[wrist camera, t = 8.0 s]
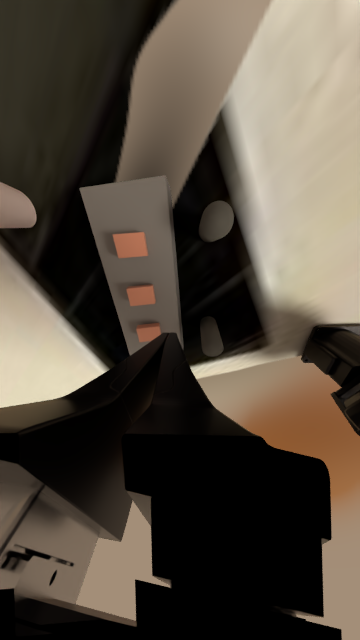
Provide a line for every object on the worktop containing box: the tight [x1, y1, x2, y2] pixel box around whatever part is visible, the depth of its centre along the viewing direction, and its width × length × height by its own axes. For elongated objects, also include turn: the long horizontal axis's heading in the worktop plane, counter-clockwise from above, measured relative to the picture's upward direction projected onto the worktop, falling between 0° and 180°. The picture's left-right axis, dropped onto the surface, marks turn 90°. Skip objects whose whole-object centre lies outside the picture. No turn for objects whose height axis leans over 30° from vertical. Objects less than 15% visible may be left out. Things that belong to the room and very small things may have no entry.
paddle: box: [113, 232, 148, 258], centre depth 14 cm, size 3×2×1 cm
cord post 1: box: [199, 201, 234, 242], centre depth 13 cm, size 2×2×6 cm
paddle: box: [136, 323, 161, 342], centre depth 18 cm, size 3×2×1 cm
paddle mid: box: [126, 284, 156, 306], centre depth 16 cm, size 3×2×1 cm
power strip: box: [79, 175, 183, 356], centre depth 18 cm, size 8×20×3 cm, turn 4°
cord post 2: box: [200, 316, 224, 357], centre depth 19 cm, size 2×2×6 cm
